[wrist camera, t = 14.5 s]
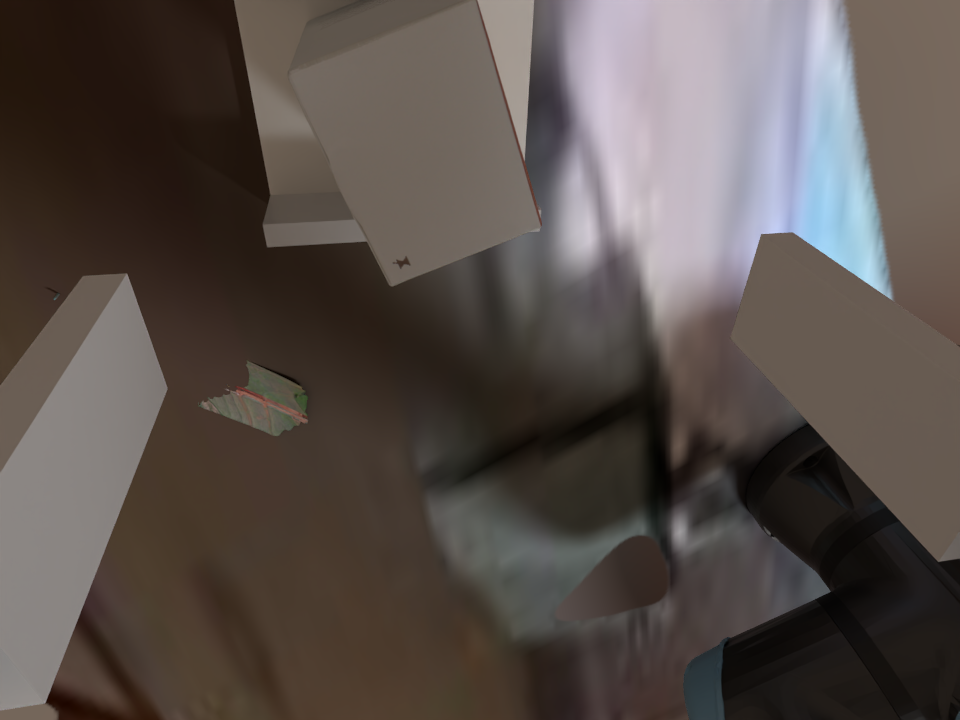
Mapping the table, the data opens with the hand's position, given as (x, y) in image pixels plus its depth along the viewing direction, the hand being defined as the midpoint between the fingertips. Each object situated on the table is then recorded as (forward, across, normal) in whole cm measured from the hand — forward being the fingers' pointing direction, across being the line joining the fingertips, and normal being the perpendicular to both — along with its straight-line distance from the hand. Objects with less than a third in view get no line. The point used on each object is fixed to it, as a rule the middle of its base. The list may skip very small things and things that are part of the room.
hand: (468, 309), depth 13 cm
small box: (+22, 0, 0) cm, 23 cm away
